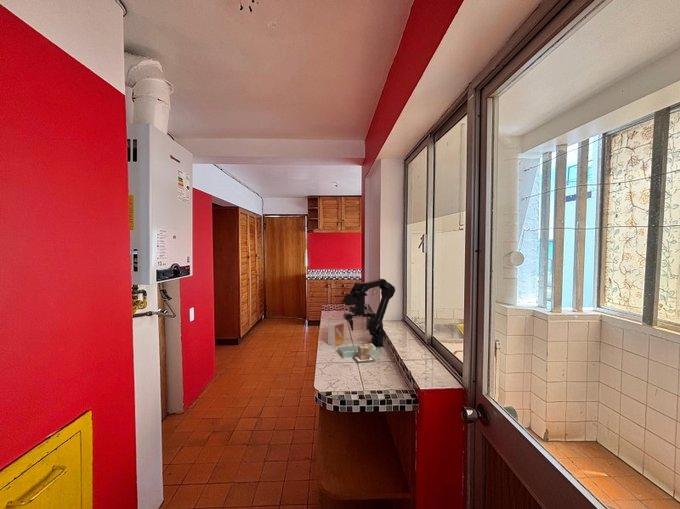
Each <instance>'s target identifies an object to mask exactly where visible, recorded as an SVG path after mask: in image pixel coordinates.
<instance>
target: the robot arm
mask: <svg viewBox="0 0 680 509" xmlns="http://www.w3.org/2000/svg"><path fill="white" fill-rule="evenodd" d="M374 288H379V289H380V295H381V297H380V301H379V303H378V307H377V310H376V313H375V312H374V311H367V312H366V311H365V309H366V302H365V300H366V297H368V294H367V292H368V291H369V290H370V289H374ZM395 292H396V288H395V286H394V285H393V284H391V283H390V282H389V281H387V280H386V279H385V278H378V279H373V280H370V281H366V282H363V281H362V282H359V281H356V282H354V284H353V286H352V289H350V291H349V293H346V294H345V296H344V298H343V304H344V305H345V306H346V307H347V306H348V312H346V313H344V314H342V316H343V318H342V319H345V320H346V321H347V322H348V324H349V326H350V329H351V331H352V332H353V331H354V319H355V318H356V319H357V318H365V319H366V321H365V322H366V324H365V325H366V326H365V329H366V331H368V332H369V335H370V336H371V337H370V343H372V344H373V345H374V346H375V347H376V348H383V347H385V345H384V338H385V337H386V331H385V330H383V329H384V325H383V324H384V323H383V321H384V320H383V319H384V316H385V314H386V311H387V308H388V305H389V302H390V300H391V299H392V298H393V297H394V295H395ZM365 312H366V313H365ZM353 318H354V319H353Z"/></svg>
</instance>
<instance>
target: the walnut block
mask: <svg viewBox="0 0 680 509" xmlns="http://www.w3.org/2000/svg"><path fill="white" fill-rule="evenodd" d="M357 346H358V350H357V351H358V358H359V359H360V360H369V359H370V356H371V355H370V348H369V347H368V346H367V345H366V346H359V345H357Z"/></svg>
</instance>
